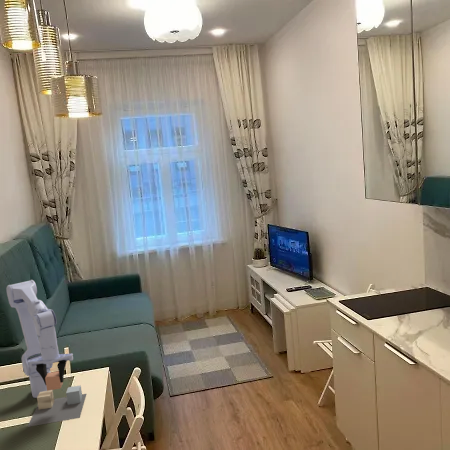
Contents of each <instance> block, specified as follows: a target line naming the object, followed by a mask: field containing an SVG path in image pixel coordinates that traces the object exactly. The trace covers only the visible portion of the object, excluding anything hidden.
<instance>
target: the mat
mask: <svg viewBox="0 0 450 450" xmlns="http://www.w3.org/2000/svg"><path fill="white" fill-rule="evenodd" d="M86 397H87V393H82V400H81V403H76V404H70V405H68V403H67V396H65V397H58V398H54V404H53V406H52V408H46V409H40V410H39V407H38V405H37V406H36V408H35V410H34V412H33V414H32V417H31V418H30V420H29V422H28V424H27V427H30V428H31V427H34V426H40V425H45V424H46V425H47V424H50V423H51V424H52V423H57V422H63V421H69V420H76V419H80V418H81V415H82V411H83V409H84V408H83V407H84V404H85V402H86V401H85V400H86ZM27 427H26V428H27Z"/></svg>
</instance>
